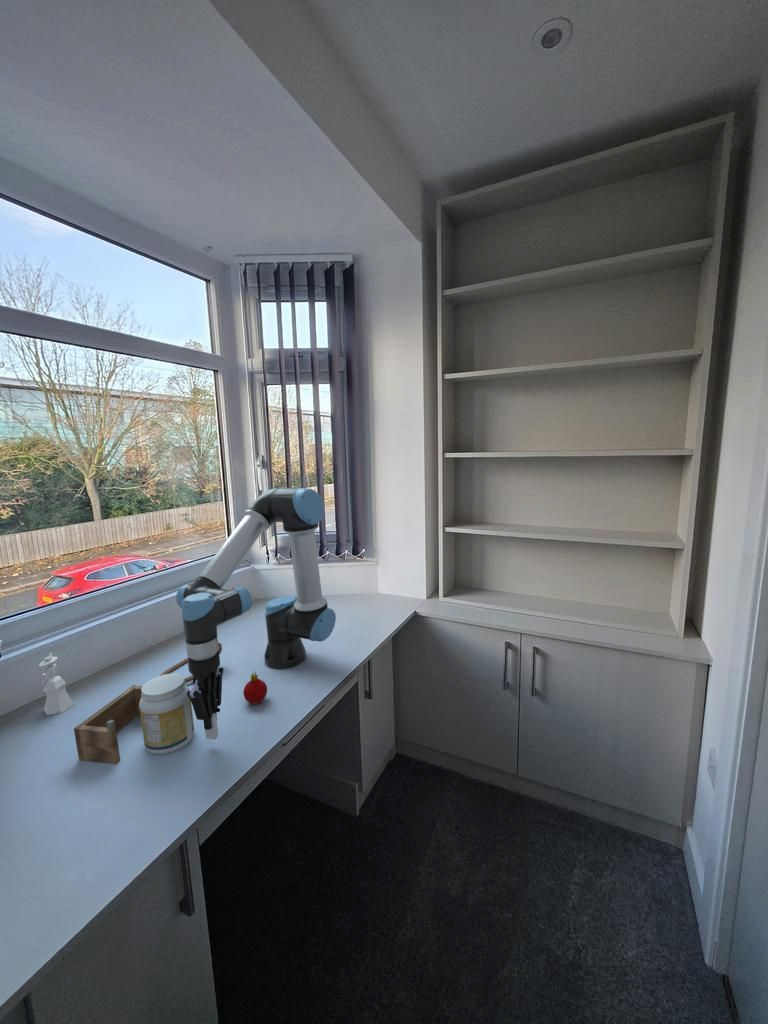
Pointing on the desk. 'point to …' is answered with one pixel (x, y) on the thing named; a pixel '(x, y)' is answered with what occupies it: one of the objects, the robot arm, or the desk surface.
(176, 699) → the supplement tub
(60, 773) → the desk surface
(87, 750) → the walnut holder
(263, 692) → the christmas ornament
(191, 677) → the brown curved horn
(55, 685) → the figurine
